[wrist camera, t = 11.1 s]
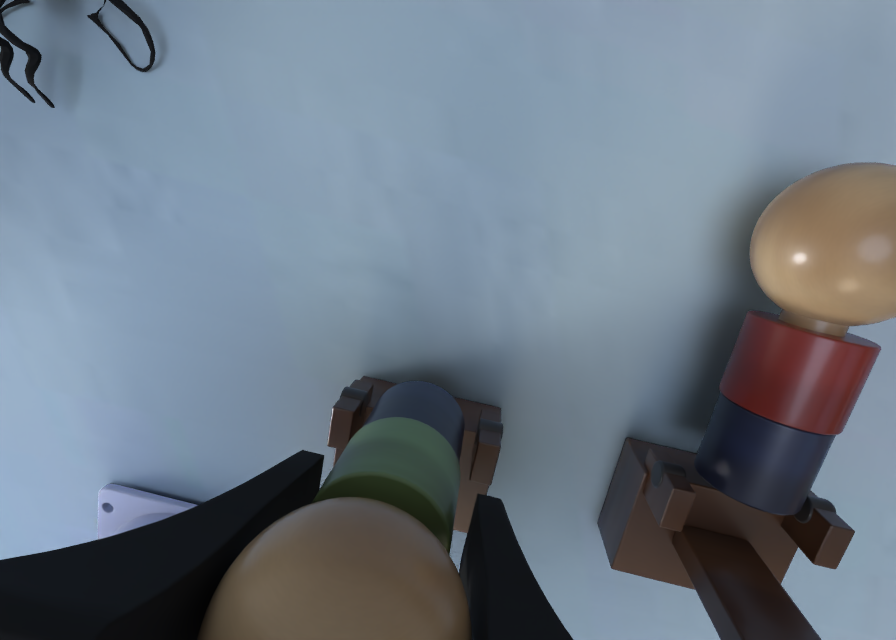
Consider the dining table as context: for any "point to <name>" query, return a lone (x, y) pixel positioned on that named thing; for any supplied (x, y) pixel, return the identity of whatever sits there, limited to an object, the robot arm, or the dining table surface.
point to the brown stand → (714, 542)
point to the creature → (35, 56)
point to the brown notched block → (476, 446)
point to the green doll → (362, 540)
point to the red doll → (804, 335)
